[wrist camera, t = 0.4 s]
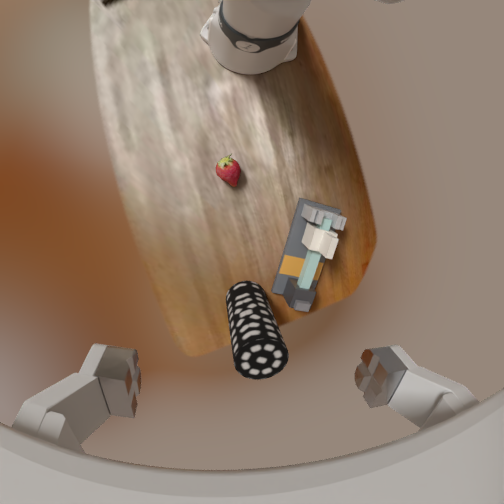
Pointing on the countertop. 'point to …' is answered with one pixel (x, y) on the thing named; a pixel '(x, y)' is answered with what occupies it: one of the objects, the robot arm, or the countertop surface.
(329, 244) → the sleeve
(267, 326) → the white-spotted black cylinder
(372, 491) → the robot arm
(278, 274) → the board
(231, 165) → the fruit
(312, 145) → the countertop surface
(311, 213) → the gray notched block
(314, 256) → the pale teal rod
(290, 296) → the block
